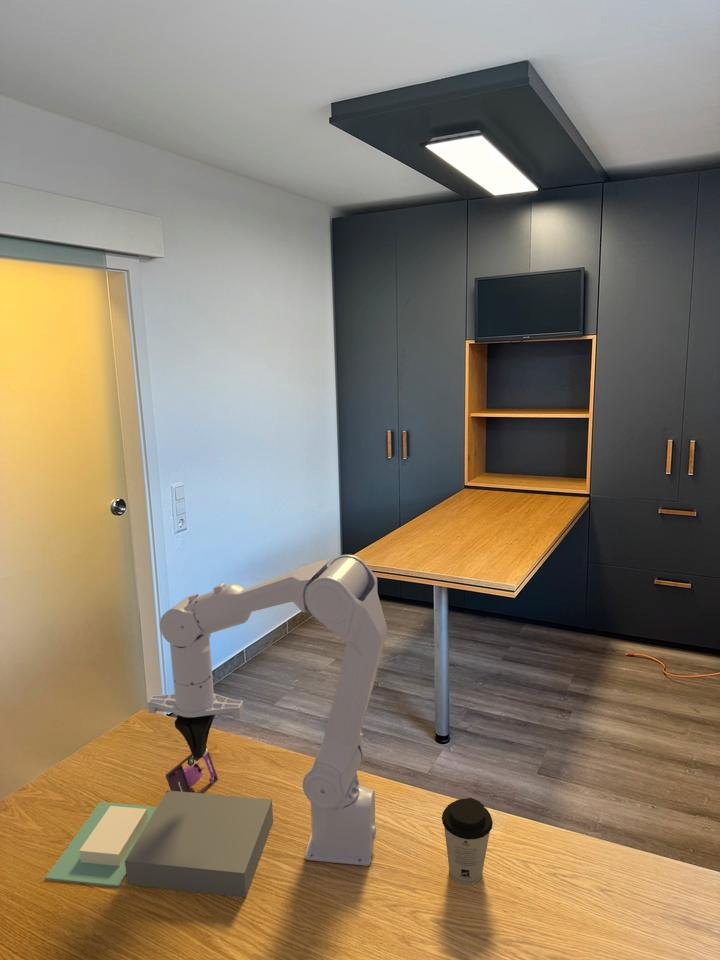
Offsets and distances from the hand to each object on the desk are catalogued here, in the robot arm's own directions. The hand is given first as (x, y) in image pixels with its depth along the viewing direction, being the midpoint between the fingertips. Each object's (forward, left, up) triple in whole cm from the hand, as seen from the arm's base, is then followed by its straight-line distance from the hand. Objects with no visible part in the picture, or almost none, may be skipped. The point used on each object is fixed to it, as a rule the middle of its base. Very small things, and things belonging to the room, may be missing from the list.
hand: (199, 753), depth 103 cm
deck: (-3, +8, -10) cm, 13 cm away
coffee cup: (-41, +7, -11) cm, 43 cm away
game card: (+4, -4, -11) cm, 12 cm away
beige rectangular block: (+11, +8, -8) cm, 16 cm away
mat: (+12, +8, -10) cm, 18 cm away
